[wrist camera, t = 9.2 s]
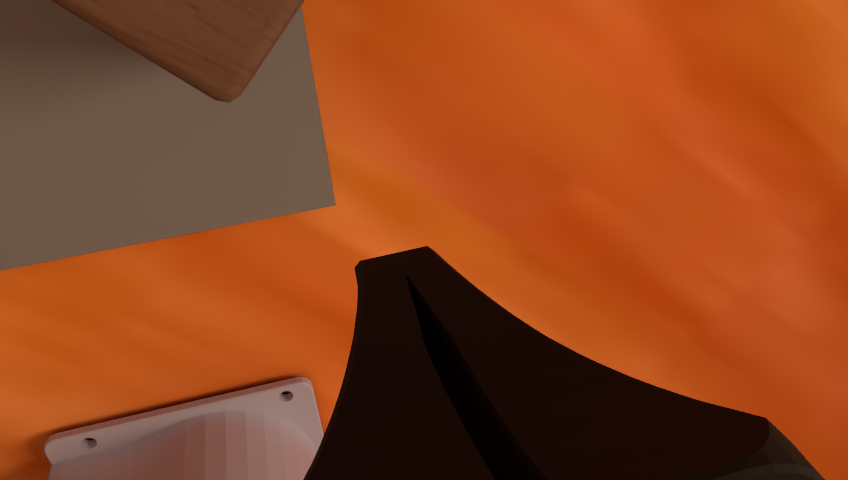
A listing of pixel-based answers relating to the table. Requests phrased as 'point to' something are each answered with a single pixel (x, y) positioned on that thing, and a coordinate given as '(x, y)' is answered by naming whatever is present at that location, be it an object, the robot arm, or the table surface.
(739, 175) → the table surface
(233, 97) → the wooden block
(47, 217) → the mat
